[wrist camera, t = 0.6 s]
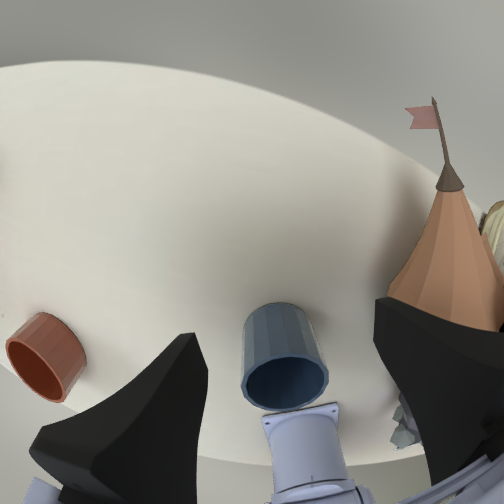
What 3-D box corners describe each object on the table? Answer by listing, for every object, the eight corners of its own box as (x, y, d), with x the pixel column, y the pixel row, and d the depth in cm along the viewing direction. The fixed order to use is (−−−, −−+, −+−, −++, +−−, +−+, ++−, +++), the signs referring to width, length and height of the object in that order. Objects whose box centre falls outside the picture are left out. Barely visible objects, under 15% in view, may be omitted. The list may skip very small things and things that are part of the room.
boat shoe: (468, 380, 25) (499, 417, 17) (421, 404, 25) (450, 450, 16) (513, 198, 17) (572, 217, 9) (467, 199, 17) (543, 221, 9)
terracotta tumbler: (98, 375, 23) (79, 407, 18) (52, 371, 23) (33, 397, 18) (64, 310, 20) (35, 338, 15) (21, 314, 21) (-5, 336, 16)
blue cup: (312, 351, 21) (328, 402, 16) (249, 362, 22) (250, 415, 16) (308, 296, 20) (327, 344, 14) (236, 309, 20) (232, 361, 14)
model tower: (481, 407, 17) (522, 94, 7) (413, 475, 15) (460, 79, 5) (431, 369, 26) (421, 103, 16) (365, 421, 24) (312, 117, 14)
